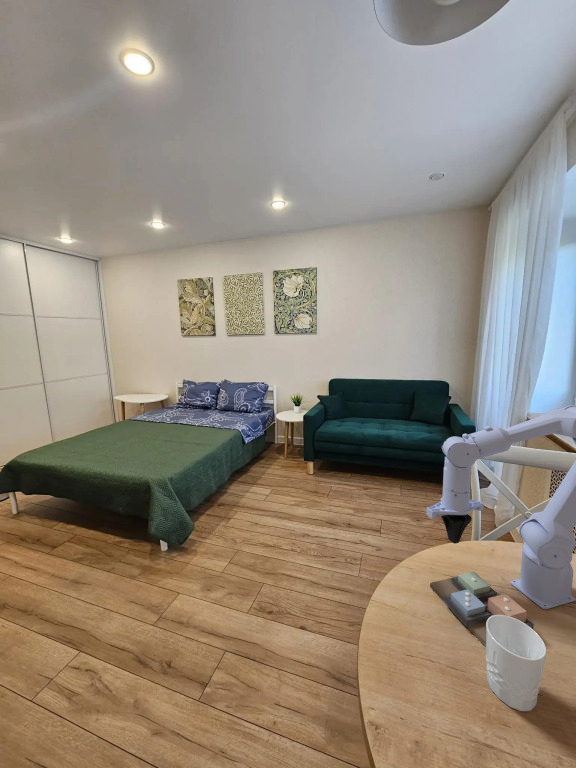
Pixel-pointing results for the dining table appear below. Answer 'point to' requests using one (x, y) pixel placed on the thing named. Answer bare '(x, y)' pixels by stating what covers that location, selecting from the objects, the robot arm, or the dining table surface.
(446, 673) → the dining table surface
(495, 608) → the tile two
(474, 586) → the tile one
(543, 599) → the robot arm
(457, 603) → the tile three
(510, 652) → the white cup
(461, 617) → the board
